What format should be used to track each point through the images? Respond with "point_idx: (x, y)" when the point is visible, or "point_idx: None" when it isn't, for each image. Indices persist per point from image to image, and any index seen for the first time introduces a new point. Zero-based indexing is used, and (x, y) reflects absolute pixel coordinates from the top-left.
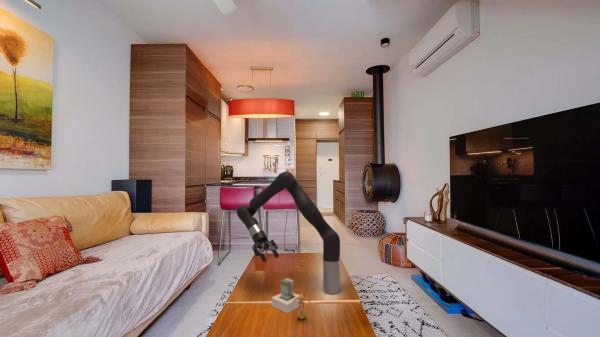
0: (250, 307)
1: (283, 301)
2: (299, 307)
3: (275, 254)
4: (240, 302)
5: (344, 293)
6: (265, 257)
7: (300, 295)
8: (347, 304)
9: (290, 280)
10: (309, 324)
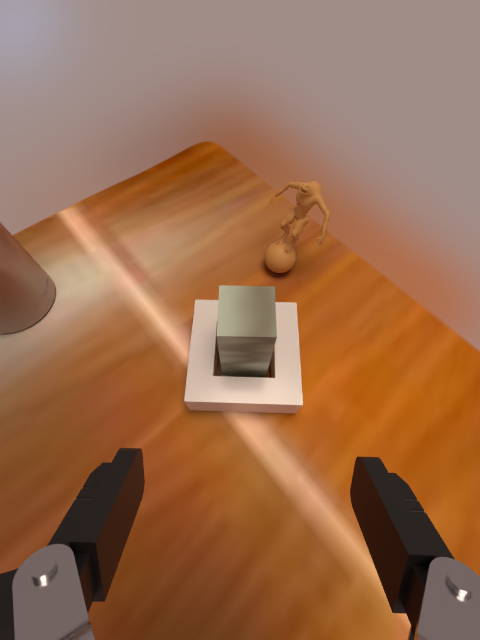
0: None
1: (287, 332)
2: (298, 236)
3: (125, 506)
4: None
5: None
6: (373, 480)
7: (314, 186)
8: (106, 213)
9: (230, 297)
10: None
